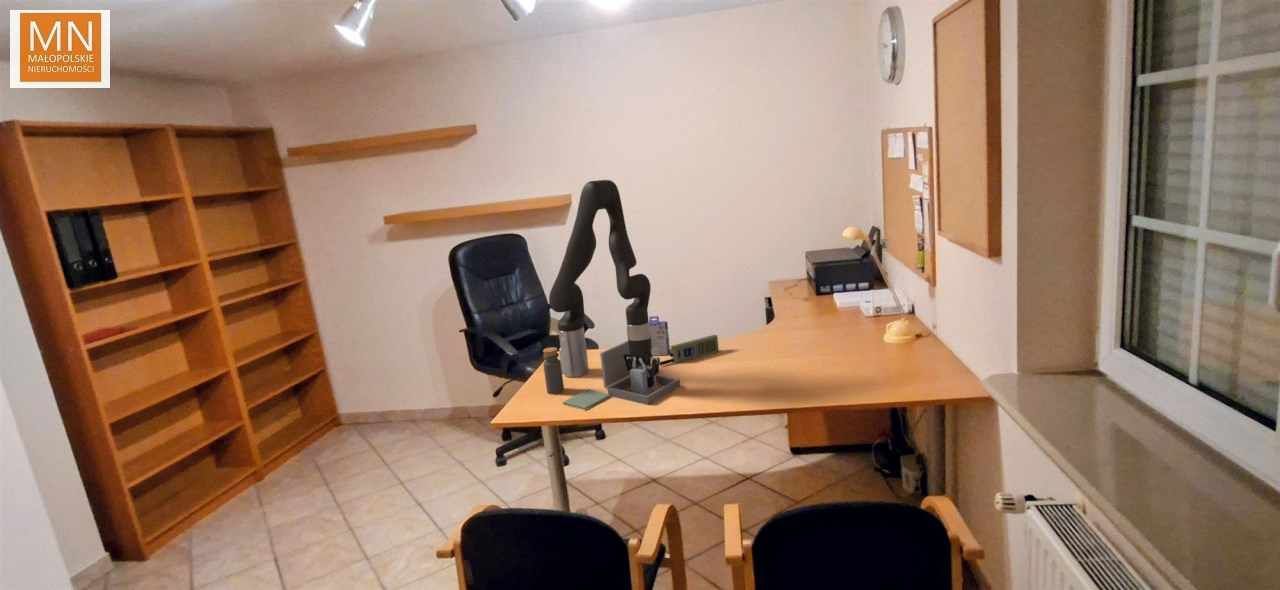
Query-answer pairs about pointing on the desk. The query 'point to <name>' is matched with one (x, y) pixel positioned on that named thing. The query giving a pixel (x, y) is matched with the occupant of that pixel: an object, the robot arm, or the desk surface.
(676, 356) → the handheld radio
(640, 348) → the robot arm
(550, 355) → the bottle
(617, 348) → the case
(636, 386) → the block
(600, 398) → the mat
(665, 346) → the ink cartridge box
